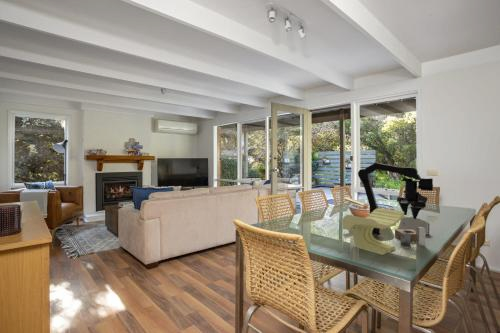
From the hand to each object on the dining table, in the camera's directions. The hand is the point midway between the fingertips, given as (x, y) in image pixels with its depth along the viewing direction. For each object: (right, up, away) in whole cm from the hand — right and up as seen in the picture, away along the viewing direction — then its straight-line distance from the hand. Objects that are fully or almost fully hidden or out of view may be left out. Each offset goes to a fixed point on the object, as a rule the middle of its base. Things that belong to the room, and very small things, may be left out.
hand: (410, 216), depth 151 cm
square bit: (-1, -12, -11) cm, 17 cm away
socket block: (-2, -12, -1) cm, 12 cm away
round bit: (-9, -13, -12) cm, 19 cm away
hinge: (+10, -12, +13) cm, 21 cm away
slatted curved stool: (-28, -13, -16) cm, 35 cm away
